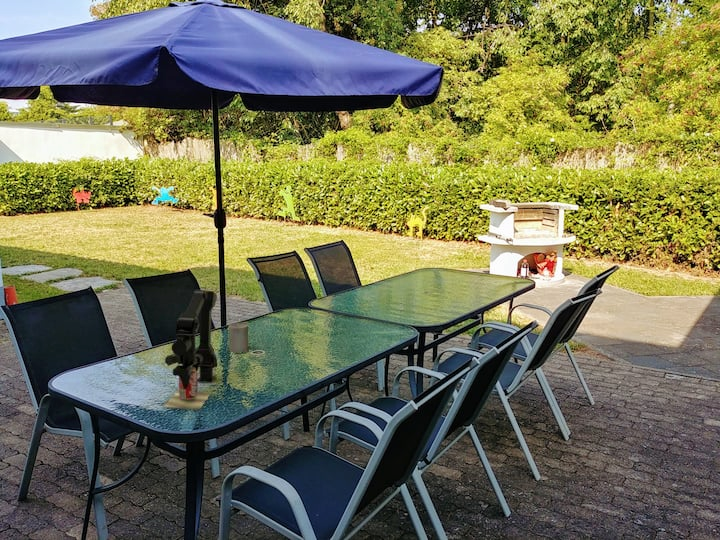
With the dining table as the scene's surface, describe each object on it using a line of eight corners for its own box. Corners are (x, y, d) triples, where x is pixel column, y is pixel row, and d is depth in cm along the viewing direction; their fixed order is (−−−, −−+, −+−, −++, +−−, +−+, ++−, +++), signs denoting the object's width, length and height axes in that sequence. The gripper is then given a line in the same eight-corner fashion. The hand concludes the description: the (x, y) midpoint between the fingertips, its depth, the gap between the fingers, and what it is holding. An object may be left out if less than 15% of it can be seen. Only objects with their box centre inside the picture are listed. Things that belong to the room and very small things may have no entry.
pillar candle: (238, 346, 308) (238, 319, 306) (252, 350, 303) (252, 322, 300) (224, 351, 300) (224, 322, 298) (238, 355, 295) (238, 326, 292)
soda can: (199, 394, 240) (199, 365, 238) (195, 400, 233) (195, 371, 231) (181, 393, 240) (181, 365, 238) (177, 400, 233) (176, 371, 231)
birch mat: (178, 392, 245) (178, 390, 245) (211, 394, 244) (211, 392, 244) (163, 407, 229) (163, 406, 229) (199, 409, 228) (199, 408, 228)
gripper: (175, 339, 242) (176, 376, 245) (158, 353, 224) (159, 393, 227) (202, 340, 242) (203, 377, 245) (187, 355, 224) (188, 394, 226)
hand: (188, 385), depth 236 cm, fingers closed on soda can, 7 cm apart
